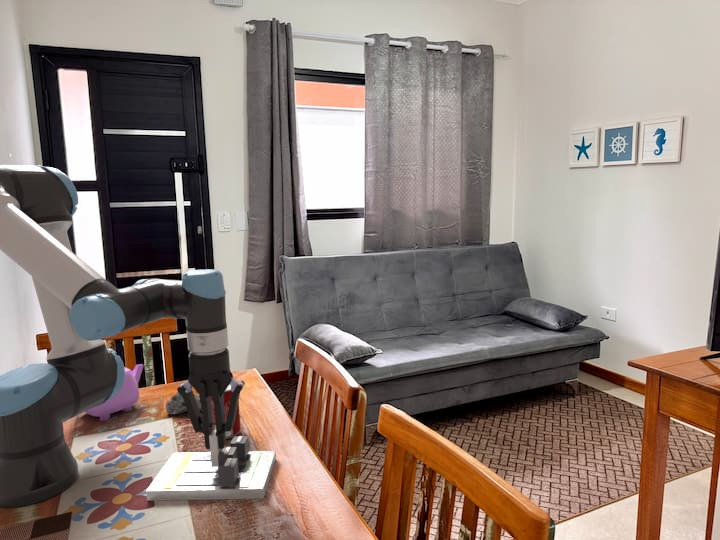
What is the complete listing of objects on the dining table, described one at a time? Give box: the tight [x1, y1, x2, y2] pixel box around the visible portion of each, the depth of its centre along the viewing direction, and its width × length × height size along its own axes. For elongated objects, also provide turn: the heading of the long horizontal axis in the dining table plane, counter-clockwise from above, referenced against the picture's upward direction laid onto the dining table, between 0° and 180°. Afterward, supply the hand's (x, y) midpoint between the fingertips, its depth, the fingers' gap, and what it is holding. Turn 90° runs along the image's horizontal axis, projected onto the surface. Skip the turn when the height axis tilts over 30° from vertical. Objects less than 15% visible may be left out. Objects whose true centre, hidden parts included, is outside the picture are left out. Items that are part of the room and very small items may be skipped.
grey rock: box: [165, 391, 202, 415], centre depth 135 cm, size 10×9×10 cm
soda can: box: [211, 384, 241, 440], centre depth 120 cm, size 7×7×12 cm
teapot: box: [84, 363, 144, 421], centre depth 135 cm, size 20×12×13 cm, turn 144°
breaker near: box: [218, 458, 239, 484], centre depth 97 cm, size 3×3×4 cm
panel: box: [145, 450, 277, 502], centre depth 102 cm, size 22×14×2 cm, turn 90°
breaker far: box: [229, 435, 250, 459], centre depth 106 cm, size 3×3×4 cm
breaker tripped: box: [218, 446, 237, 464], centre depth 102 cm, size 3×3×4 cm
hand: (217, 462), depth 102 cm, fingers closed
